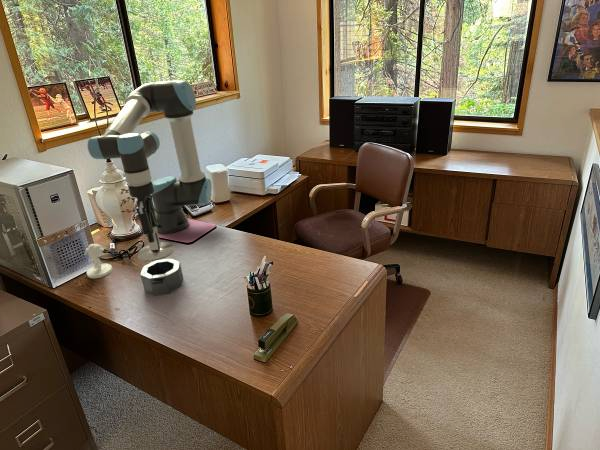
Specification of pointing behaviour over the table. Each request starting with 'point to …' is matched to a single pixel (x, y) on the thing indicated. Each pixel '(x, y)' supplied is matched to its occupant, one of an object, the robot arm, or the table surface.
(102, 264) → the figurine
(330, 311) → the table surface
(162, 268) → the pot
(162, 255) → the black peg on disc
